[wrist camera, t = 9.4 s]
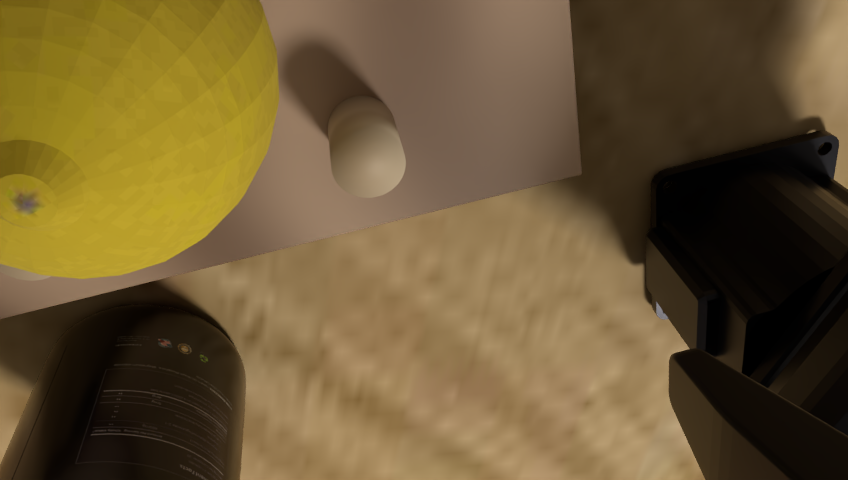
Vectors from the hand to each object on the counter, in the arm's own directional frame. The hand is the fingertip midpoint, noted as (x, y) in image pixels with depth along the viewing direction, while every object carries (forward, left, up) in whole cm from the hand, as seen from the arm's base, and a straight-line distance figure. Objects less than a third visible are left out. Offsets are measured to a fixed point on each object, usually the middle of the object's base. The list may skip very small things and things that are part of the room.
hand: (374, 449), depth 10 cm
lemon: (+3, -5, -9) cm, 10 cm away
